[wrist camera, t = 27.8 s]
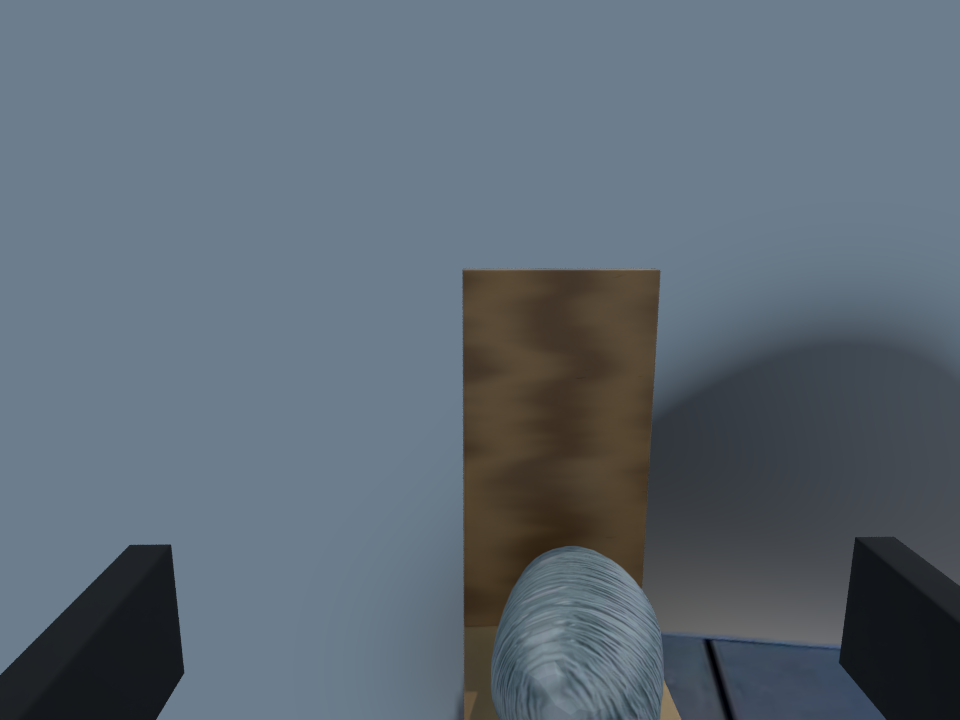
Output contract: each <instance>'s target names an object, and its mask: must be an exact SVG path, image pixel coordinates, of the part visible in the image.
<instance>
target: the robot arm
mask: <svg viewBox="0 0 960 720" xmlns="http://www.w3.org/2000/svg"><path fill="white" fill-rule="evenodd" d="M174 579H175V578H174V569H173V559H172V550H171V545H129V546H128V548H126V549H125V551H123V552H122V554H121V555H120V556H119V557H118V558H117V559H116V560H115V561H114V562H113V563H112V564H111V565H110V566H109V567H108V568H107V569H106V570H105V571H104V572H103V573H102V574H101V575H100V576H99V577H98V578H97V579H96V580H95V581H94V582H93V583H92V584H91V585H90V586H89V587H88V588H87V589H86V590H85V591H84V592H83V593H82V594H81V595H80V596H79V597H78V598H77V599H76V600H75V601H74V602H73V603H72V604H71V605H70V606H69V607H68V608H67V609H66V610H65V611H64V612H63V613H62V614H61V615H60V616H59V617H58V618H57V619H56V620H55V621H54V622H53V623H52V624H51V625H50V626H49V627H48V628H47V629H46V630H45V631H44V632H43V633H42V634H41V635H40V636H39V637H38V638H37V639H36V640H35V641H34V642H33V643H32V644H31V645H30V646H29V647H28V648H27V649H26V650H25V651H24V652H23V653H22V654H21V655H20V656H19V657H18V658H17V659H16V660H15V661H14V662H13V663H12V664H11V665H10V666H9V667H8V668H7V669H6V670H5V671H4V672H3V673H2V674H1V675H0V720H156V719H157V717H158V715H159V714H160V712H161V711H162V709H163V707H164V706H165V704H166V702H167V701H168V699H169V697H170V696H171V694H172V692H173V691H174V689H175V687H176V686H177V684H178V682H179V681H180V679H181V677H182V676H183V674H184V665H183V657H182V646H181V636H180V626H179V617H178V607H177V599H176V588H175V580H174ZM839 663H840V664H841V666H842V667H843V668H844V669H845V670H846V672H847V673H848V674H849V675H850V676H851V678H852V679H853V680H854V681H855V682H856V684H857V685H858V686H859V687H860V688H861V690H862V691H863V692H864V693H865V694H866V695H867V697H868V698H869V699H870V700H871V701H872V703H873V704H874V705H875V706H876V707H877V709H878V710H879V711H880V712H881V713H882V715H883V716H884V717H885V718H886V719H887V720H960V586H959V585H957V584H956V583H955V582H953V581H952V580H951V579H949V578H948V577H947V576H945V575H944V574H943V573H942V572H940V571H939V570H937V569H936V568H935V567H934V566H932V565H931V564H930V563H928V562H927V561H925V560H924V559H923V558H922V557H920V556H919V555H918V554H916V553H915V552H913V551H912V550H911V549H910V548H908V547H907V546H906V545H904V544H903V543H901V542H900V541H899V540H898V539H896V538H895V537H856V538H855V544H854V552H853V559H852V567H851V575H850V582H849V590H848V598H847V606H846V613H845V621H844V629H843V637H842V644H841V652H840V659H839Z"/></svg>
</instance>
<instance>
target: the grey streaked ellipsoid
mask: <svg viewBox="0 0 960 720" xmlns="http://www.w3.org/2000/svg"><path fill="white" fill-rule="evenodd" d="M663 680H664V665H663V650H662V638H661V633H660V628H659V625H658V622H657V619H656V616H655V613H654V610H653V608H652V606H651V604H650V602H649V601H648V599H647V597H646V596H645V594H644V593H643V591H642V589H641V588H640V587H639V586H638V584H637V583H636V582H635V580H634V579H633V578H632V577H631V576H630V575H629V574H628V573H627V572H626V571H625V570H624V569H623V568H622V567H620V566H619V565H618V564H617V563H615V562H614V561H613V560H611V559H609V558H607V557H605V556H603V555H602V554H600V553H598V552H596V551H594V550H591V549H586V548H583V547H580V546H565V547H561V548H556V549H552V550H550V551H547V552H545V553H543V554H541V555H540V556H538V557H537V558H535V559H534V560H533V561H532V562H531V563H530V564H529V565H528V566H527V567H526V568H525V570H524V571H523V573H522V574H521V576H520V577H519V579H518V581H517V582H516V584H515V586H514V587H513V589H512V591H511V593H510V596H509V598H508V600H507V603H506V605H505V608H504V611H503V614H502V617H501V620H500V622H499V626H498V629H497V633H496V637H495V642H494V648H493V655H492V662H491V694H492V700H493V703H494V706H495V710H496V714H497V716H498V718H499V720H660V713H661V702H662V696H663Z"/></svg>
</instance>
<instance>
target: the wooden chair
mask: <svg viewBox="0 0 960 720" xmlns="http://www.w3.org/2000/svg"><path fill="white" fill-rule="evenodd" d="M659 288H660V270H659V269H655V268H651V269H648V268H639V269H638V268H635V269H634V268H627V269H626V268H613V269H612V268H611V269H610V268H606V269H605V268H594V269H593V268H590V269H589V268H577V269H573V268H568V269H567V268H564V269H563V268H560V269H559V268H556V269H555V268H553V269H549V268H548V269H547V268H543V269H542V268H535V269H534V268H530V269H529V268H528V269H527V268H523V269H521V268H520V269H518V268H514V269H513V268H511V269H510V268H496V269H494V268H493V269H490V268H486V269H485V268H481V269H480V268H477V269H476V268H473V269H470V268H465V269H463V503H464V504H463V511H464V512H463V521H464V523H463V528H464V529H463V531H464V720H499V718H498V716H497V714H496V710H495V706H494V703H493V700H492V694H491V662H492V655H493V648H494V642H495V637H496V633H497V629H498V626H499V622H500V620H501V617H502V614H503V611H504V608H505V605H506V603H507V600H508V598H509V596H510V593H511V591H512V589H513V587H514V586H515V584H516V582H517V581H518V579H519V577H520V576H521V574H522V573H523V571H524V570H525V568H526V567H527V566H528V565H529V564H530V563H531V562H532V561H533V560H534V559H535V558H537V557H538V556H540V555H541V554H543V553H545V552H547V551H550V550H552V549H556V548H561V547H565V546H580V547H583V548H586V549H591V550H594V551H596V552H598V553H600V554H602V555H603V556H605V557H607V558H609V559H611V560H613V561H614V562H615V563H617V564H618V565H619V566H620V567H622V568H623V569H624V570H625V571H626V572H627V573H628V574H629V575H630V576H631V577H632V578H633V579H634V580H635V582H636V583H637V584H638V586H639V587H640V588H641V589H642V580H643V563H644V544H645V528H646V511H647V494H648V493H647V491H648V476H649V460H650V459H649V458H650V442H651V425H652V408H653V391H654V390H653V389H654V372H655V357H656V339H657V322H658V304H659ZM660 720H681V718H680V716H679V714H678V711H677V709H676V707H675V704H674V702H673V700H672V697H671V695H670V693H669V690H668V688H667V686H666V683H665V681H664V680H663V696H662V702H661V713H660Z"/></svg>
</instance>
